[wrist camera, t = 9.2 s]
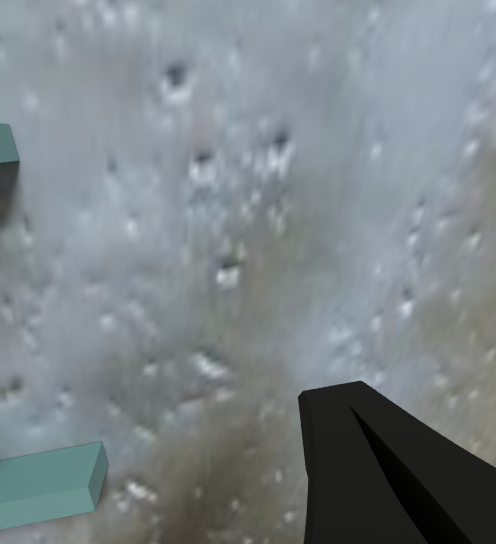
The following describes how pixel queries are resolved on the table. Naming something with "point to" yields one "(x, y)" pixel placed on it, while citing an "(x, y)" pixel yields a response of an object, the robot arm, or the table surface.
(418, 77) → the table surface
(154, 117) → the table surface
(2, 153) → the teal u-shaped frame
